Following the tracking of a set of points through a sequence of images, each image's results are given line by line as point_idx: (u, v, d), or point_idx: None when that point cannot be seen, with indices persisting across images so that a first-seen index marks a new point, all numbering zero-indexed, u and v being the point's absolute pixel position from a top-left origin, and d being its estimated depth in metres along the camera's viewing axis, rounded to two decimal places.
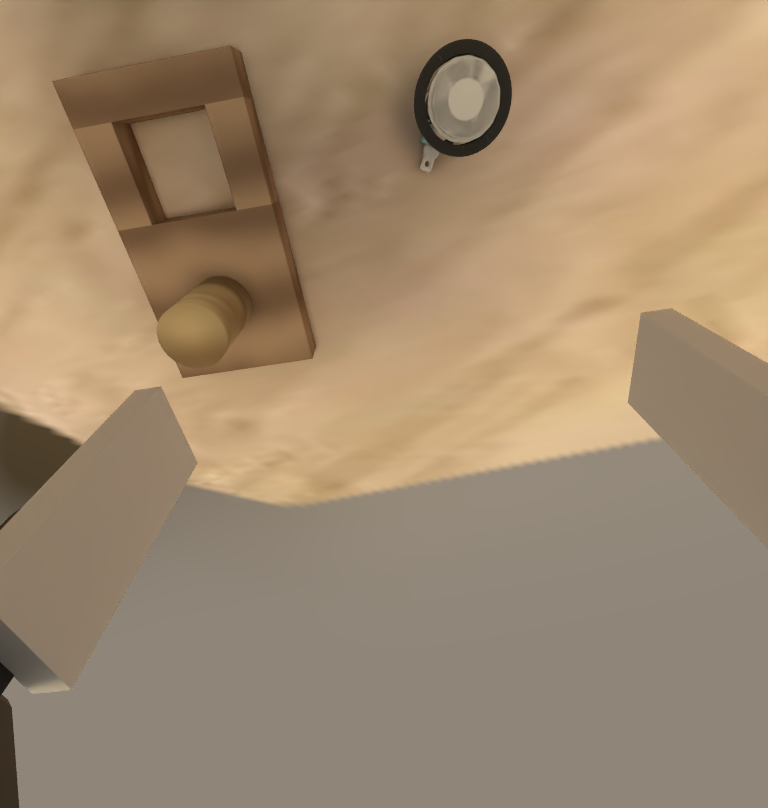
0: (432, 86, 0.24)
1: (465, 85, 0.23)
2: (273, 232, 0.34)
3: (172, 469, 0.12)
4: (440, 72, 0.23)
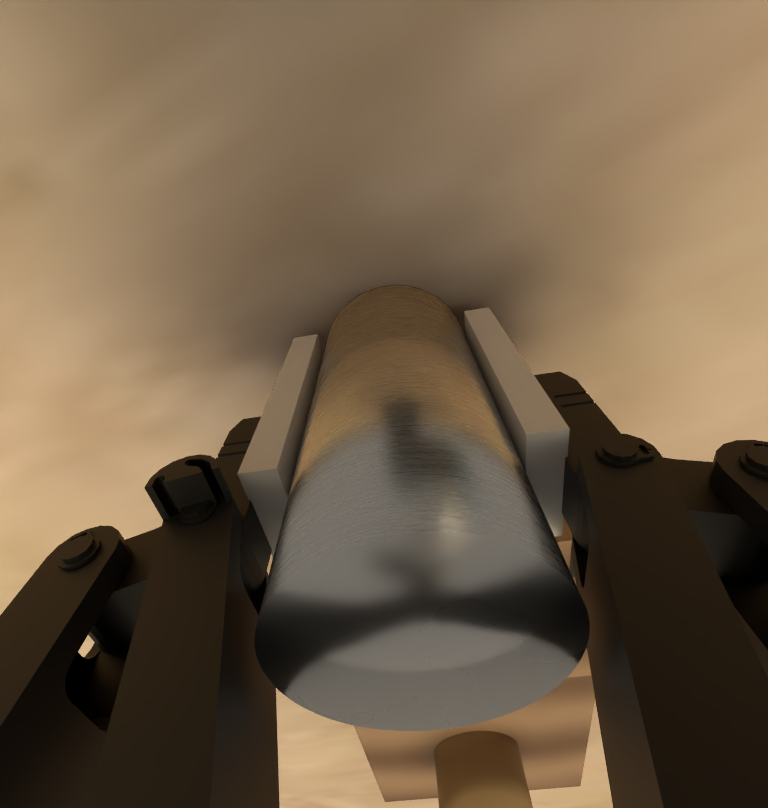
0: None
1: None
2: (586, 697, 0.21)
3: None
4: None
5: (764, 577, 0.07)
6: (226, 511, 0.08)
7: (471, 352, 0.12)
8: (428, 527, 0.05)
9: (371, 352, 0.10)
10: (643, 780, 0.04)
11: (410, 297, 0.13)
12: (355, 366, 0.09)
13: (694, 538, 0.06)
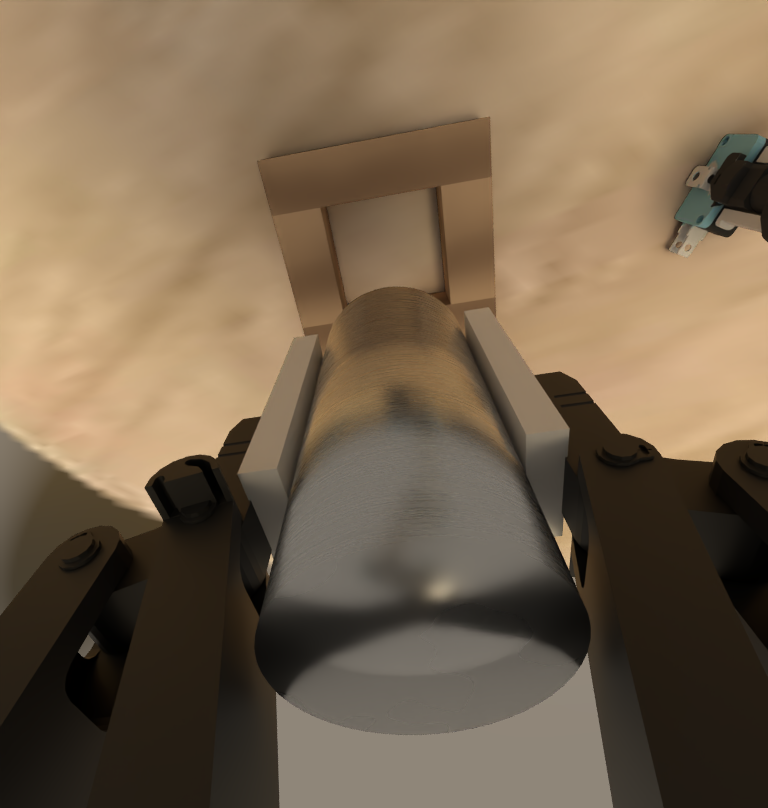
0: None
1: None
2: None
3: None
4: None
5: (764, 577, 0.07)
6: (226, 511, 0.08)
7: (471, 354, 0.12)
8: (428, 532, 0.05)
9: (371, 354, 0.10)
10: (643, 780, 0.04)
11: (410, 298, 0.13)
12: (355, 368, 0.09)
13: (694, 538, 0.06)
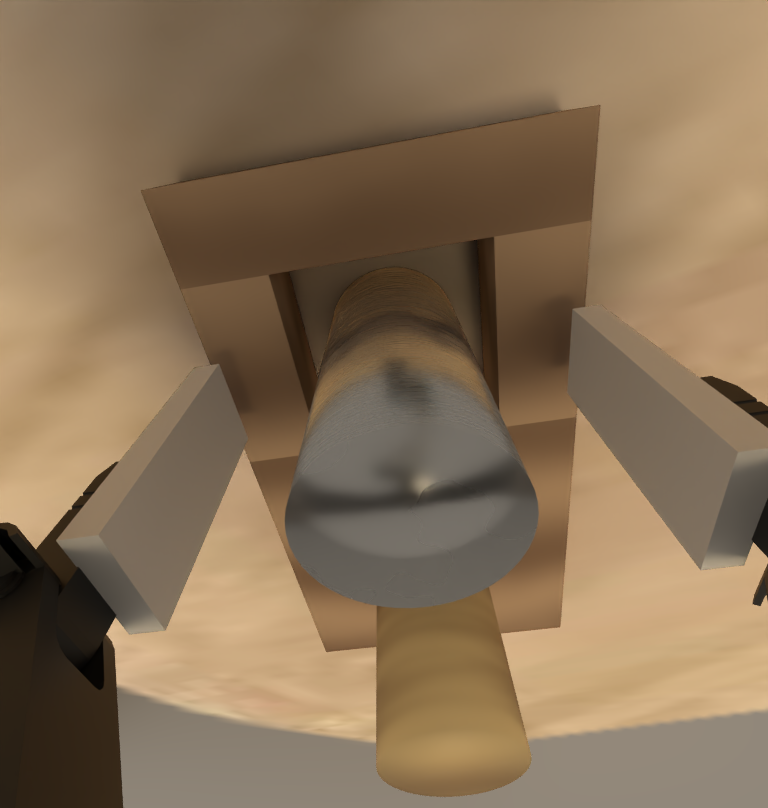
0: None
1: None
2: (562, 461, 0.17)
3: (229, 441, 0.13)
4: None
5: None
6: (36, 579, 0.07)
7: (458, 322, 0.14)
8: (414, 420, 0.07)
9: (372, 316, 0.11)
10: None
11: (406, 276, 0.15)
12: (359, 327, 0.11)
13: None
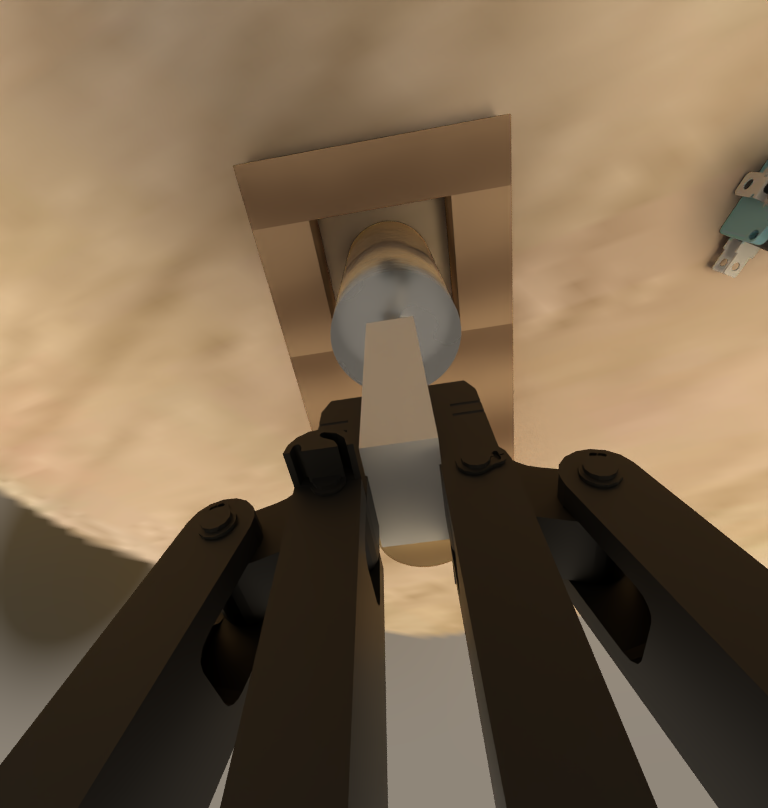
0: None
1: None
2: (505, 357, 0.24)
3: None
4: None
5: (615, 576, 0.07)
6: (355, 488, 0.08)
7: (430, 253, 0.21)
8: (396, 270, 0.14)
9: (375, 242, 0.19)
10: (500, 790, 0.04)
11: (397, 225, 0.22)
12: (367, 247, 0.19)
13: (537, 535, 0.06)
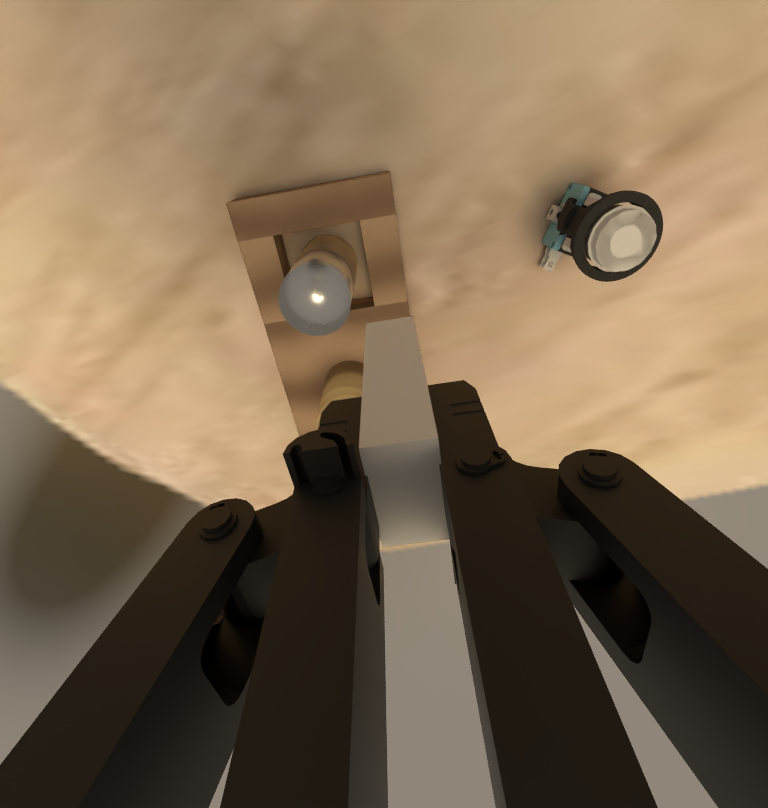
0: (594, 228, 0.27)
1: (627, 231, 0.26)
2: None
3: None
4: (603, 217, 0.26)
5: (615, 575, 0.07)
6: (354, 488, 0.08)
7: (349, 255, 0.34)
8: (311, 264, 0.27)
9: (311, 249, 0.32)
10: (499, 789, 0.04)
11: (330, 238, 0.35)
12: (305, 252, 0.31)
13: (537, 536, 0.06)
